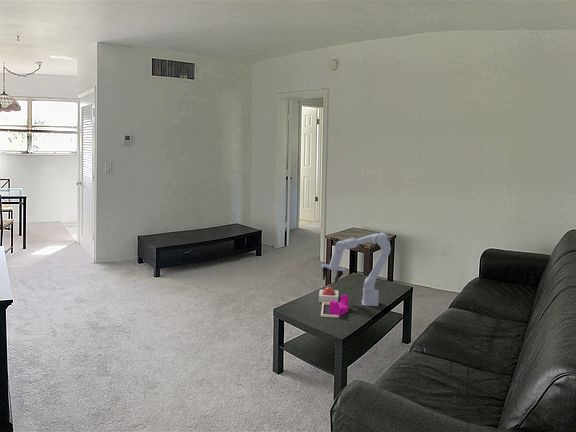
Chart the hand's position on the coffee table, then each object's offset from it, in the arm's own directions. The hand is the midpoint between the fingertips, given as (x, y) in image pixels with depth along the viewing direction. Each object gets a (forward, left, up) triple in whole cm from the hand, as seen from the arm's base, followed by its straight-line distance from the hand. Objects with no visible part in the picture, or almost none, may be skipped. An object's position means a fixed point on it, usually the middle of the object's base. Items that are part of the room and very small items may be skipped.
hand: (329, 280), depth 286 cm
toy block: (-7, +18, -13) cm, 23 cm away
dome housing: (0, -1, -12) cm, 12 cm away
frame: (-2, +18, -12) cm, 22 cm away
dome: (0, -1, -10) cm, 10 cm away
